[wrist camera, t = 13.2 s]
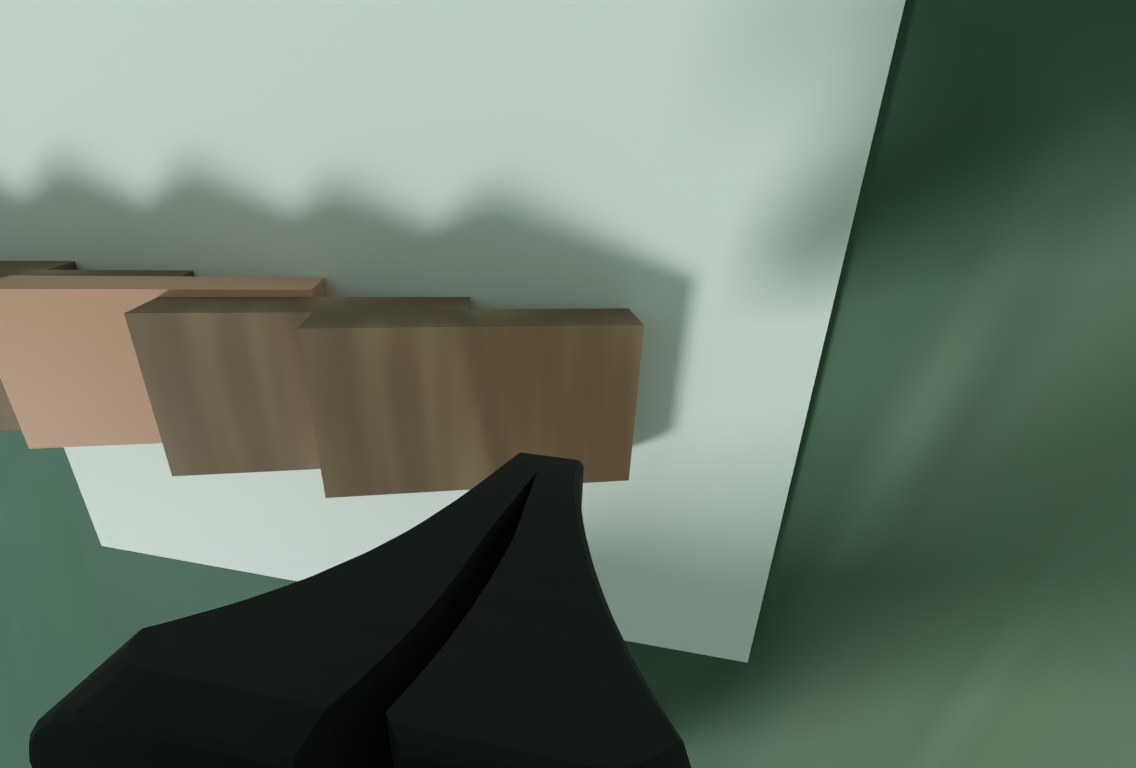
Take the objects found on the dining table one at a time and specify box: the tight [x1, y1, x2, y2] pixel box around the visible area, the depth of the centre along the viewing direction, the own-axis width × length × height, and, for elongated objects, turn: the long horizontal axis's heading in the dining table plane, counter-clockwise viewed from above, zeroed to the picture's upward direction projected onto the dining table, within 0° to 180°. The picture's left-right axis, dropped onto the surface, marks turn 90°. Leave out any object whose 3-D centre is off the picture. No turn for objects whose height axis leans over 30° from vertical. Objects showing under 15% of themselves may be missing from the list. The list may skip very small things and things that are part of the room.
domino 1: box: [0, 275, 327, 449], centre depth 16 cm, size 2×5×8 cm
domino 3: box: [297, 308, 644, 498], centre depth 15 cm, size 2×5×8 cm
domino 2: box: [124, 297, 470, 476], centre depth 16 cm, size 2×5×8 cm
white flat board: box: [0, 0, 906, 663], centre depth 18 cm, size 28×21×1 cm
